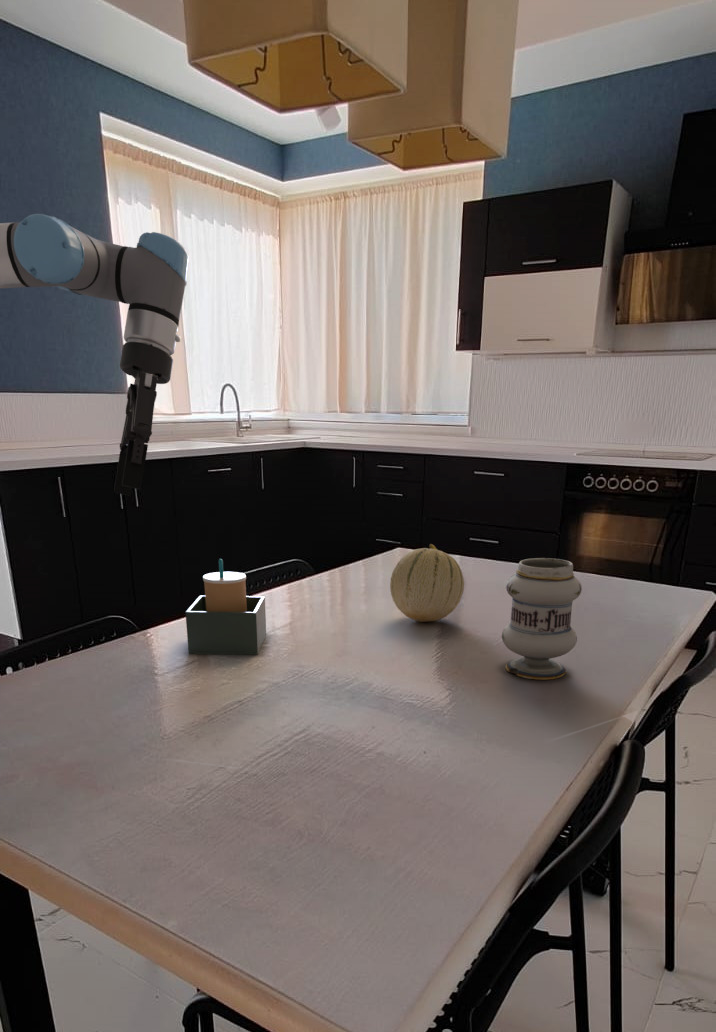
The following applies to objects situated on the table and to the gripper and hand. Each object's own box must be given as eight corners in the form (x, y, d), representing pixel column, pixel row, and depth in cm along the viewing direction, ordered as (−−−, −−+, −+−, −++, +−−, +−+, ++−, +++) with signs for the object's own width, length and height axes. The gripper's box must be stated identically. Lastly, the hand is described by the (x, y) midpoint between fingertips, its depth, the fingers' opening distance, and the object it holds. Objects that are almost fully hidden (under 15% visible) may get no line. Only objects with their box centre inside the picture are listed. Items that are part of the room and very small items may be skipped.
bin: (202, 634, 146) (199, 595, 143) (266, 635, 146) (264, 596, 143) (188, 653, 135) (185, 611, 132) (257, 654, 135) (256, 612, 132)
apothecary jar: (483, 667, 130) (492, 559, 123) (532, 655, 136) (543, 552, 129) (538, 687, 121) (550, 572, 114) (587, 673, 127) (602, 564, 120)
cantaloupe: (391, 630, 151) (393, 552, 145) (387, 611, 164) (389, 539, 158) (466, 630, 151) (472, 553, 145) (456, 611, 165) (460, 540, 159)
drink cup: (217, 634, 145) (212, 552, 139) (255, 637, 143) (251, 554, 137) (200, 645, 138) (194, 560, 132) (239, 648, 136) (235, 562, 130)
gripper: (187, 336, 107) (162, 490, 110) (161, 374, 130) (141, 501, 133) (132, 318, 104) (108, 477, 107) (116, 360, 127) (96, 490, 130)
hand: (126, 491), depth 120 cm, fingers open, 13 cm apart
